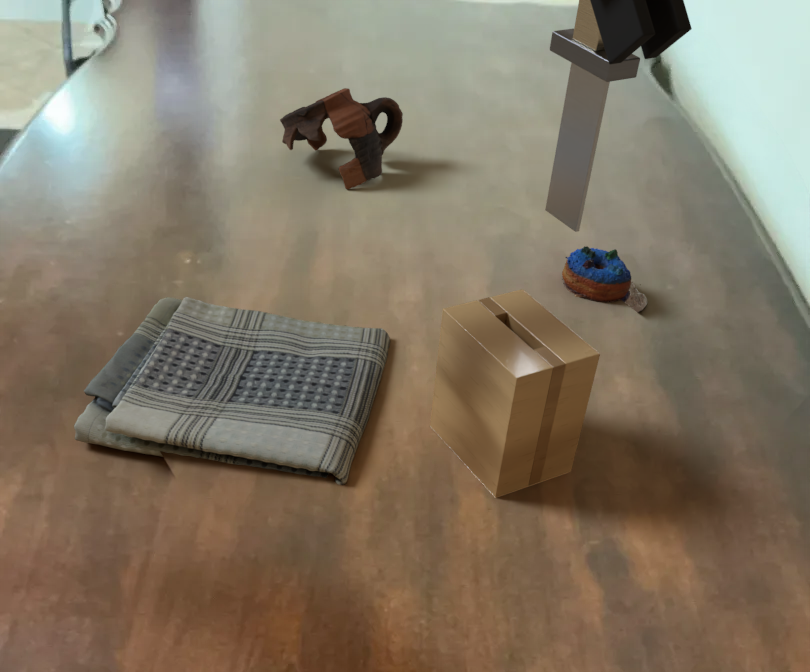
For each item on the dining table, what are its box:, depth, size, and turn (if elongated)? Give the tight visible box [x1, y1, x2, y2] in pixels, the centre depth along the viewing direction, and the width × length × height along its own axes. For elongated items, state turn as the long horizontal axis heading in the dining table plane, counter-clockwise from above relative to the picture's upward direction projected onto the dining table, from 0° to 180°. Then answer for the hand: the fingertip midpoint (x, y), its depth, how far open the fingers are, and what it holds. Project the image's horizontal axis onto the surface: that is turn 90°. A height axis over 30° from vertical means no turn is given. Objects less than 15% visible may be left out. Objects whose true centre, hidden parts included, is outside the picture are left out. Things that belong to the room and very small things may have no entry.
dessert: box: [561, 245, 648, 314], centre depth 81 cm, size 8×7×6 cm
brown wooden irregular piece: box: [279, 87, 404, 190], centre depth 95 cm, size 12×10×8 cm
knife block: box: [429, 288, 601, 499], centre depth 61 cm, size 8×6×10 cm
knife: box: [544, 0, 641, 233], centre depth 51 cm, size 5×2×18 cm, turn 30°
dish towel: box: [73, 296, 391, 486], centre depth 67 cm, size 19×18×3 cm
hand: (649, 46), depth 48 cm, fingers closed on knife, 2 cm apart
